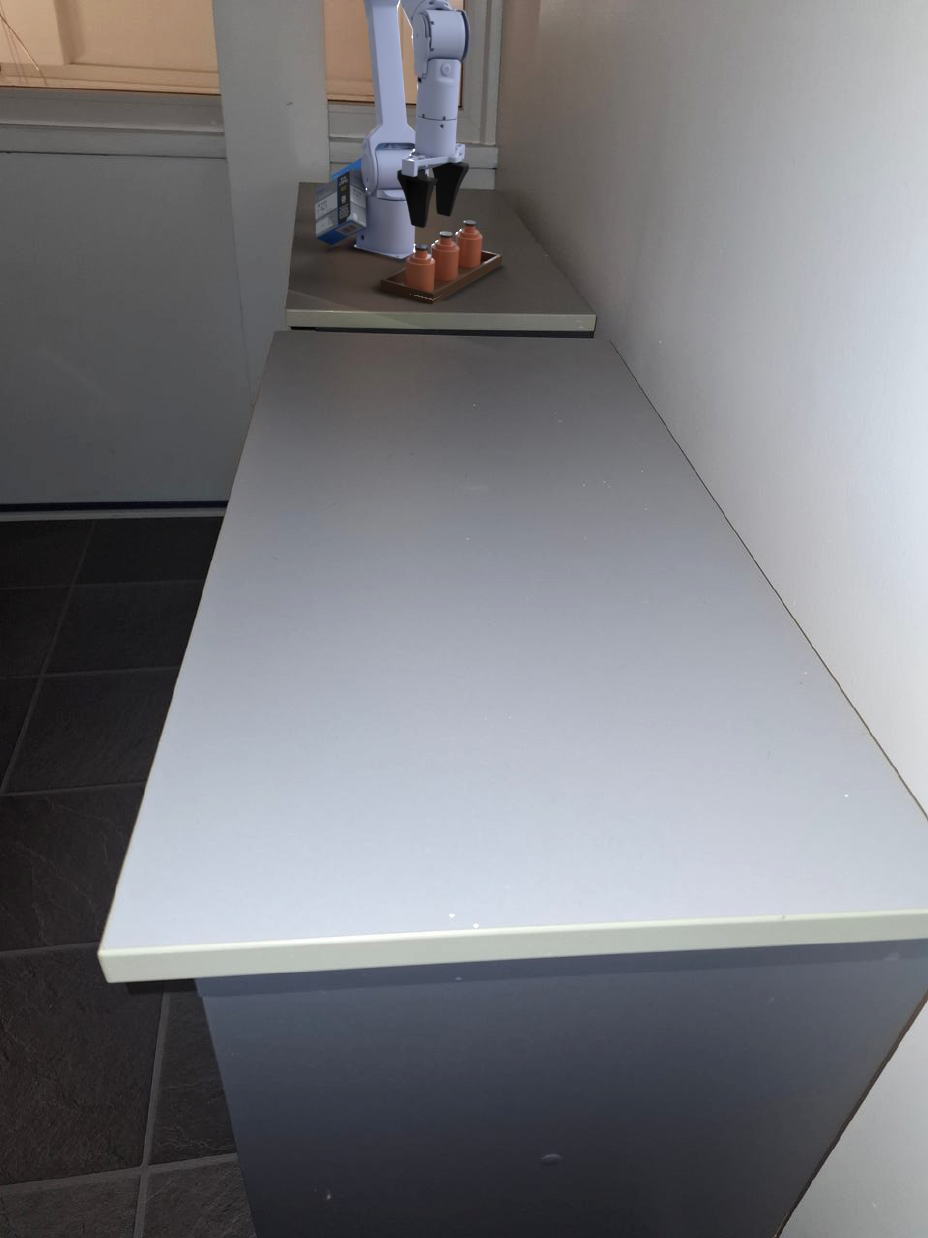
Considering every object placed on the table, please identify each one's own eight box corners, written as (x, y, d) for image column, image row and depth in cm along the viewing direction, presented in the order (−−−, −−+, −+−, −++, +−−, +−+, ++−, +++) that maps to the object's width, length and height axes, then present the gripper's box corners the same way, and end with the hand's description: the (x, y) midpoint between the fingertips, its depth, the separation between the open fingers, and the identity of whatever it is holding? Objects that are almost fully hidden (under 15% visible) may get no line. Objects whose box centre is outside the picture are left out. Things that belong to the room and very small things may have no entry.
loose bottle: (399, 290, 130) (400, 246, 126) (414, 282, 133) (415, 239, 129) (424, 297, 128) (426, 252, 124) (438, 289, 132) (441, 245, 127)
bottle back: (449, 263, 141) (451, 222, 137) (461, 257, 144) (464, 216, 140) (472, 269, 140) (476, 227, 135) (484, 262, 143) (488, 221, 139)
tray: (432, 307, 127) (433, 293, 126) (380, 292, 130) (380, 279, 129) (501, 267, 143) (502, 254, 142) (453, 254, 146) (453, 242, 145)
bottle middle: (424, 276, 136) (426, 233, 131) (438, 269, 139) (440, 227, 134) (449, 283, 134) (451, 239, 130) (462, 275, 137) (465, 233, 133)
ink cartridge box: (314, 238, 142) (312, 166, 143) (332, 246, 145) (330, 175, 146) (350, 219, 136) (348, 144, 137) (368, 228, 139) (366, 154, 140)
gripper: (435, 128, 112) (430, 237, 120) (486, 113, 122) (477, 215, 131) (389, 119, 114) (387, 226, 123) (443, 105, 124) (437, 205, 133)
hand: (431, 220), depth 127 cm, fingers open, 7 cm apart
